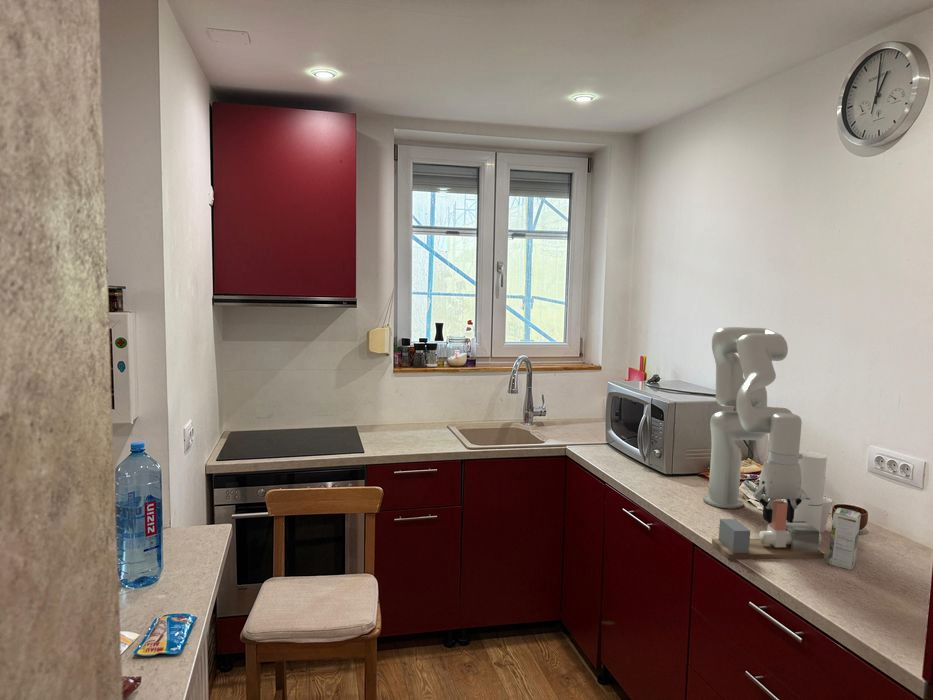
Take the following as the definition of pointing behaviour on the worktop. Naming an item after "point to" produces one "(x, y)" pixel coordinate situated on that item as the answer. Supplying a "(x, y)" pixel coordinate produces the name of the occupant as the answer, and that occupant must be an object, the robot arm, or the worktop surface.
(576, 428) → the worktop surface
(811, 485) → the cylindrical container
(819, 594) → the worktop surface
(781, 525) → the slide bolt
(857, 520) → the syrup box
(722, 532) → the socket
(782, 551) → the roller board
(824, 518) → the smoothie
